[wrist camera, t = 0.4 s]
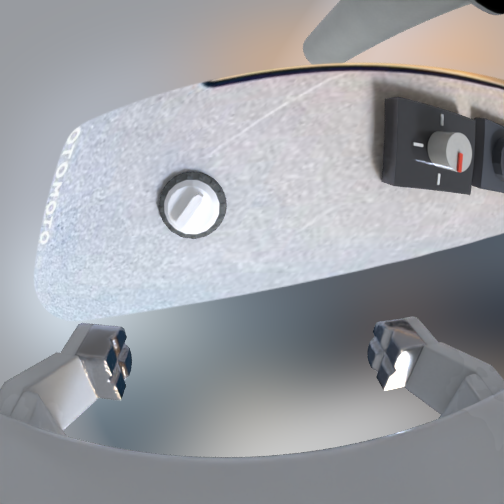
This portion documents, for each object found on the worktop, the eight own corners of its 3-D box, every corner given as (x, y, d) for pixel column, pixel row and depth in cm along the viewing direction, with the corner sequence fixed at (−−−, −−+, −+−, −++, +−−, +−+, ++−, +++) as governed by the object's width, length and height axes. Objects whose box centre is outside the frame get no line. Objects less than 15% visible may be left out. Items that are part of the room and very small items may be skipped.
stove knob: (147, 213, 31) (140, 220, 28) (184, 158, 29) (180, 160, 26) (200, 249, 33) (198, 260, 30) (240, 198, 31) (241, 204, 28)
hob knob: (428, 127, 26) (448, 129, 23) (454, 134, 26) (474, 137, 23) (426, 165, 28) (446, 170, 24) (451, 169, 28) (472, 175, 25)
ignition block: (474, 117, 28) (493, 118, 25) (512, 134, 29) (529, 136, 25) (470, 185, 32) (488, 191, 28) (508, 192, 33) (524, 198, 29)
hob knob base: (384, 98, 28) (398, 96, 25) (461, 119, 29) (476, 120, 26) (381, 181, 31) (394, 186, 28) (456, 189, 32) (471, 195, 29)
